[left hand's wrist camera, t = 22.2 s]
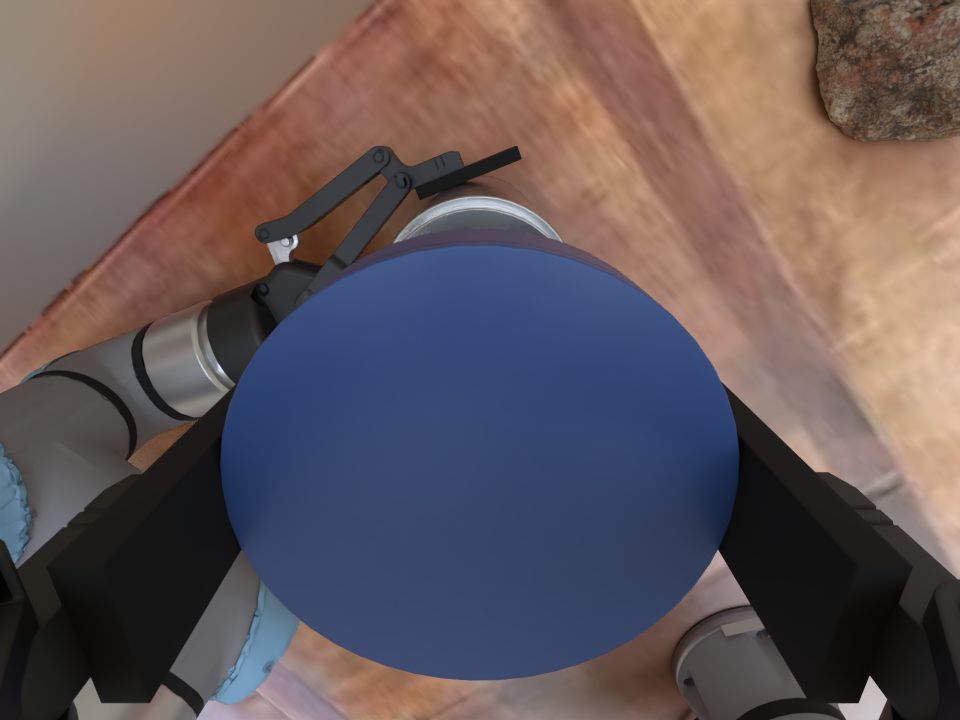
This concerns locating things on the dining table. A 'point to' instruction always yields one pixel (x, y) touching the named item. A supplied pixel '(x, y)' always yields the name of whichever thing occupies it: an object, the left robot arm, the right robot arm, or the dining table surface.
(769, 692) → the left robot arm
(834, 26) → the rock
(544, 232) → the jar
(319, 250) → the dining table surface
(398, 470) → the lid
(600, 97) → the dining table surface
